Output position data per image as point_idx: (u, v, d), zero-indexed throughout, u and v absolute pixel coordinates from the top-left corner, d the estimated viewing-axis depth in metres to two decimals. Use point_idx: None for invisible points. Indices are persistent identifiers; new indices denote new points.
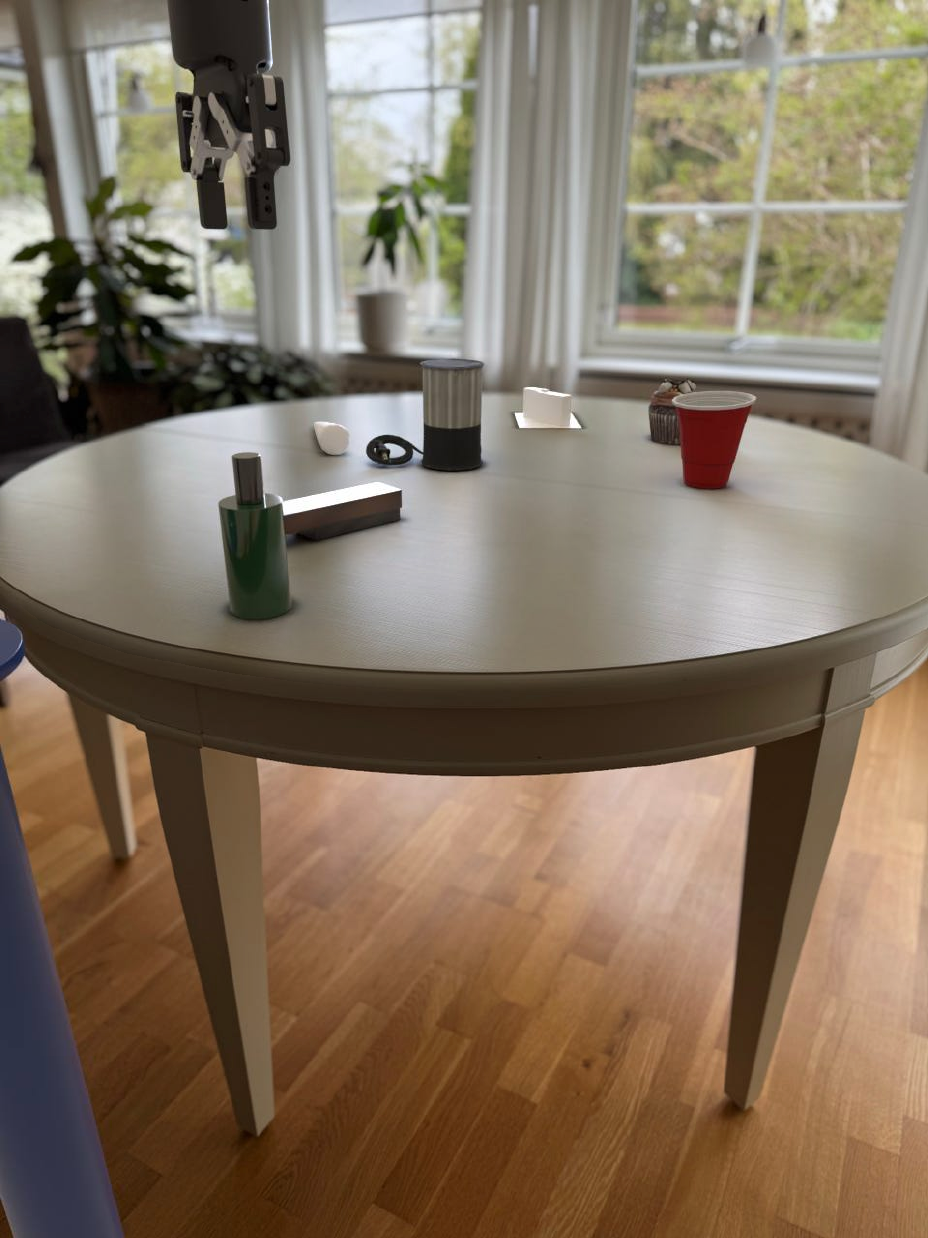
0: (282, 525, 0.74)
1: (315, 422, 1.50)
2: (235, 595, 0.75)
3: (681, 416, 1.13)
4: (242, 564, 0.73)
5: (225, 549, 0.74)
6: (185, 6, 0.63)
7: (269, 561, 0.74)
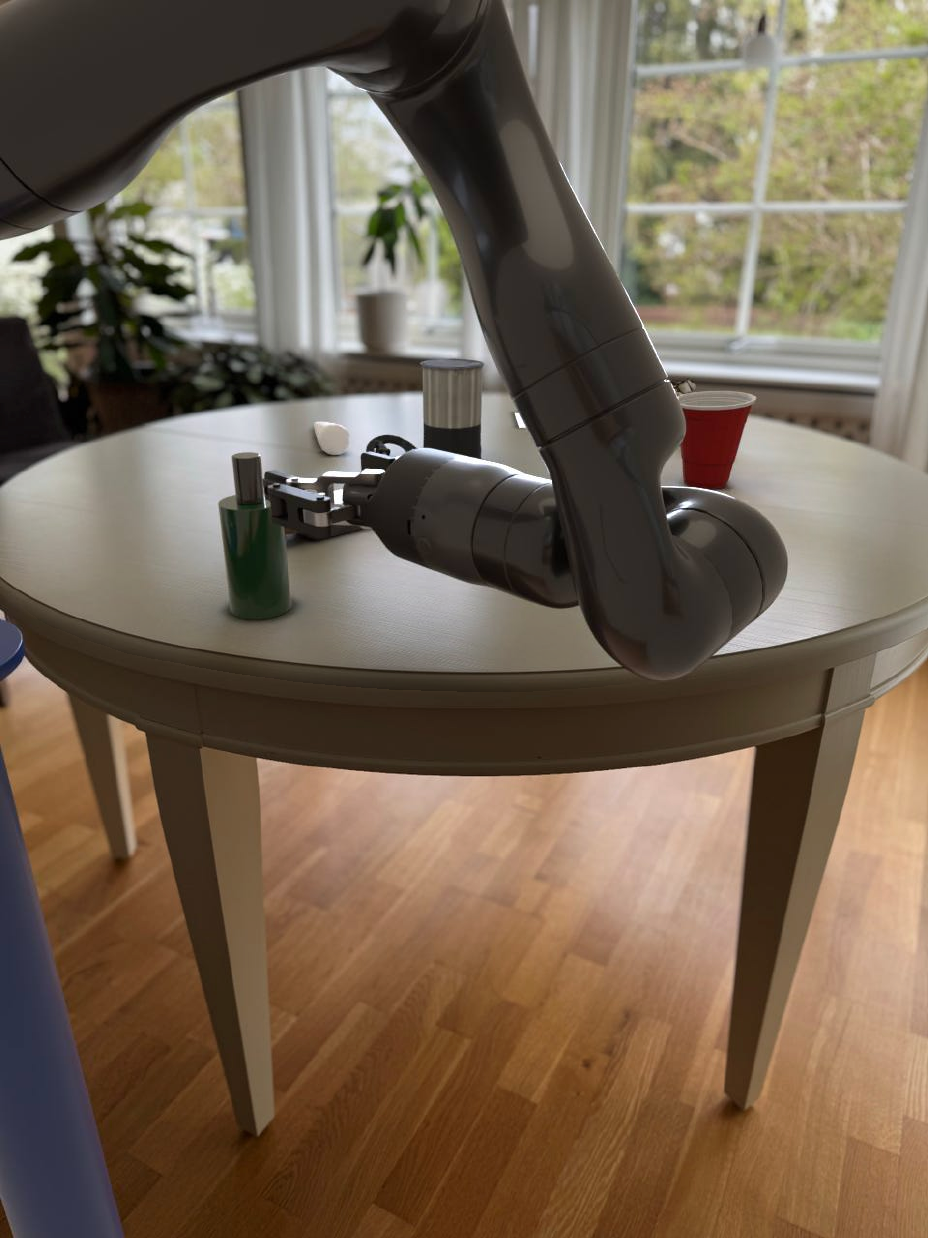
0: None
1: (315, 422, 1.50)
2: (235, 595, 0.75)
3: None
4: (242, 564, 0.73)
5: (225, 549, 0.74)
6: (428, 463, 0.52)
7: (269, 561, 0.74)
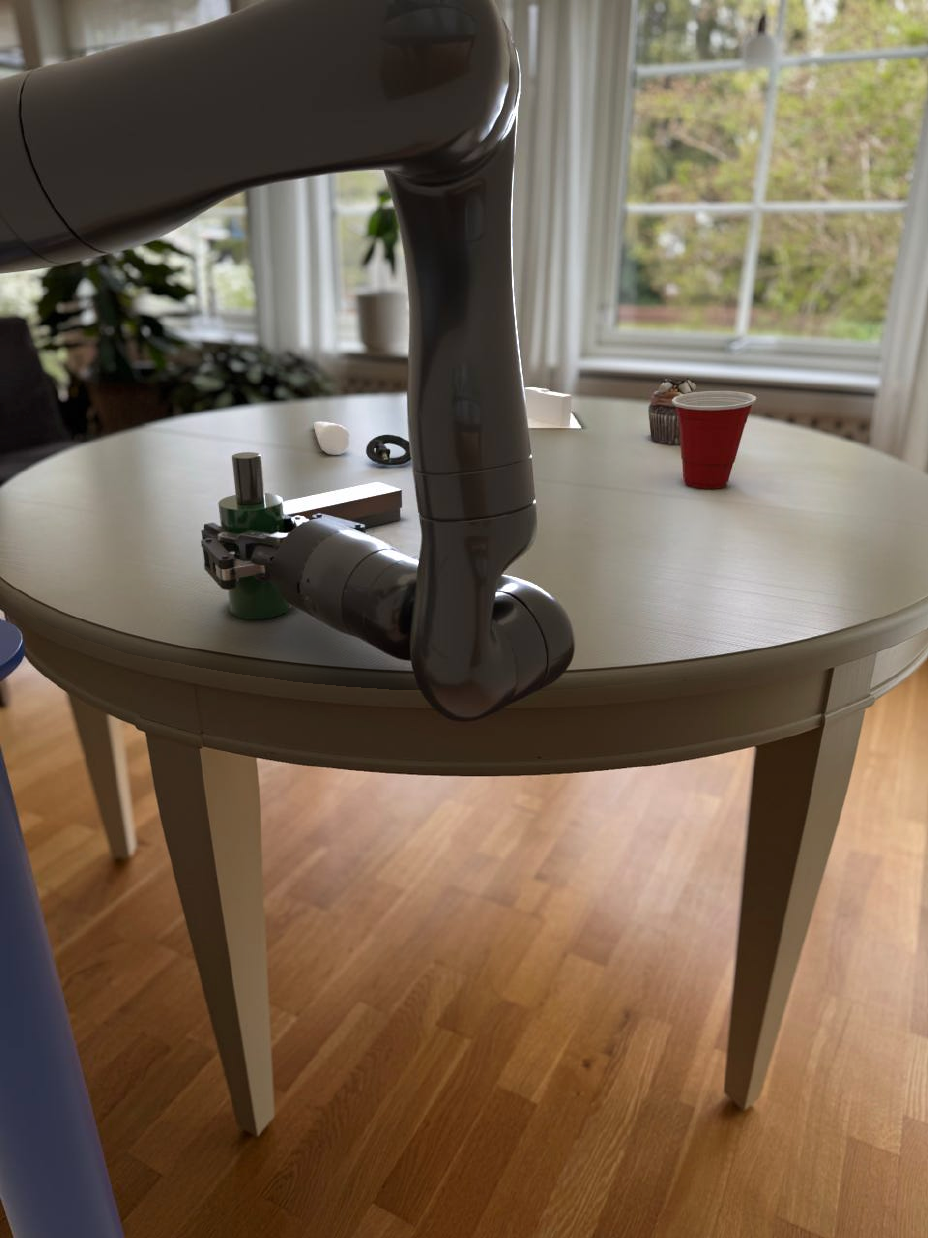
0: (282, 525, 0.74)
1: (315, 422, 1.50)
2: (235, 594, 0.75)
3: (681, 416, 1.13)
4: None
5: None
6: (316, 535, 0.64)
7: None
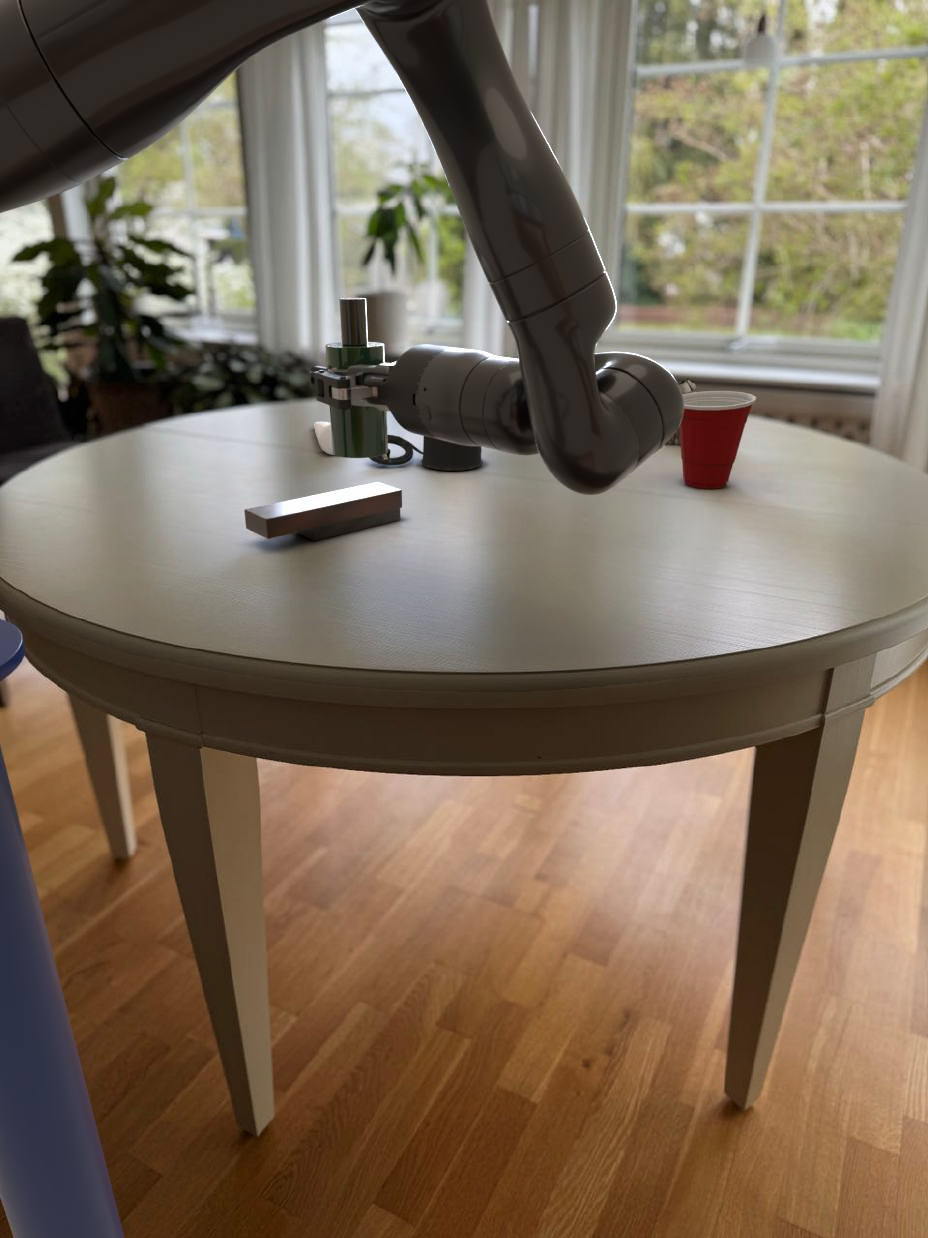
0: None
1: (315, 422, 1.50)
2: (339, 434, 0.80)
3: None
4: None
5: None
6: (429, 351, 0.69)
7: None
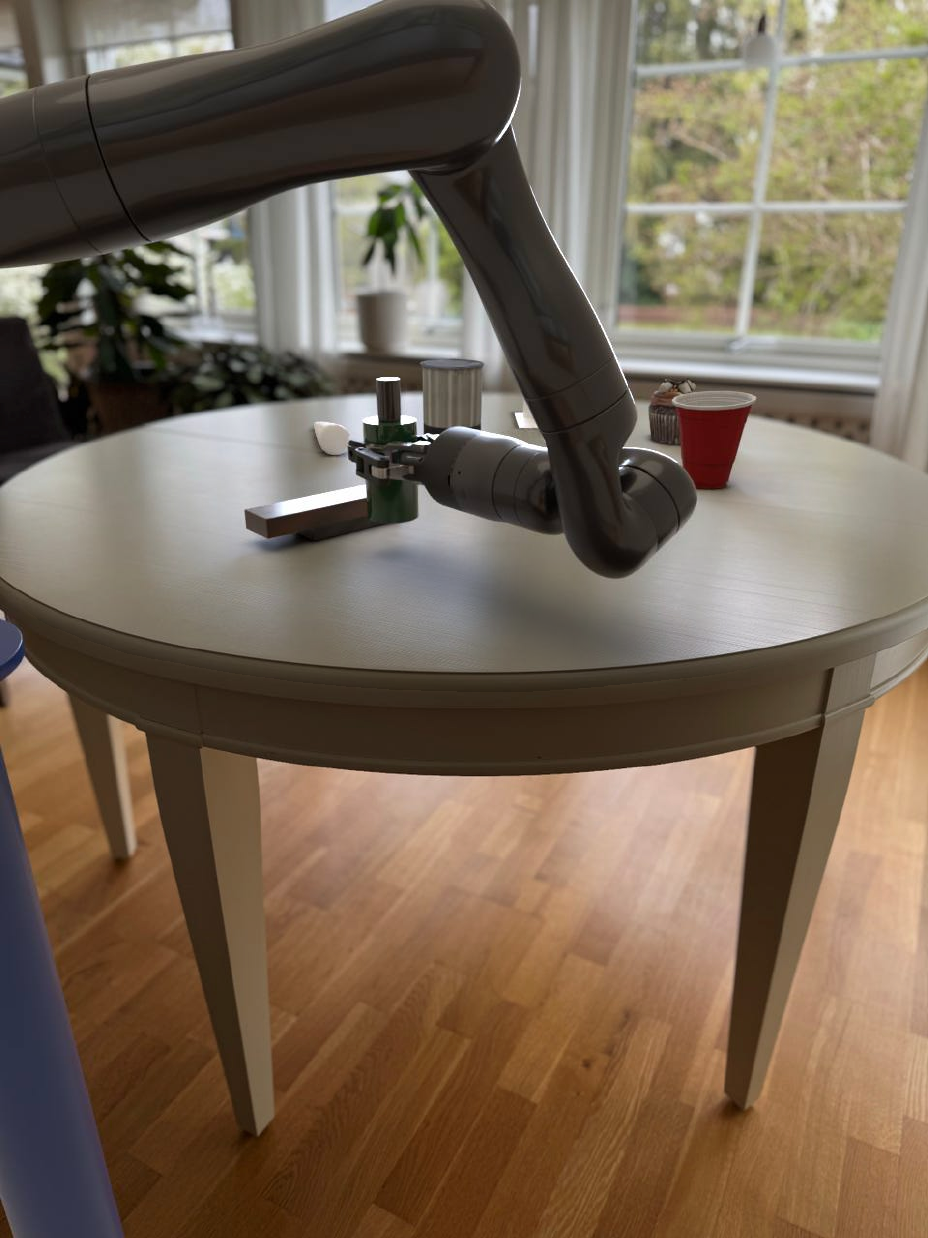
0: (416, 441, 0.86)
1: (315, 422, 1.50)
2: (375, 502, 0.87)
3: (681, 416, 1.13)
4: None
5: None
6: (462, 436, 0.76)
7: None
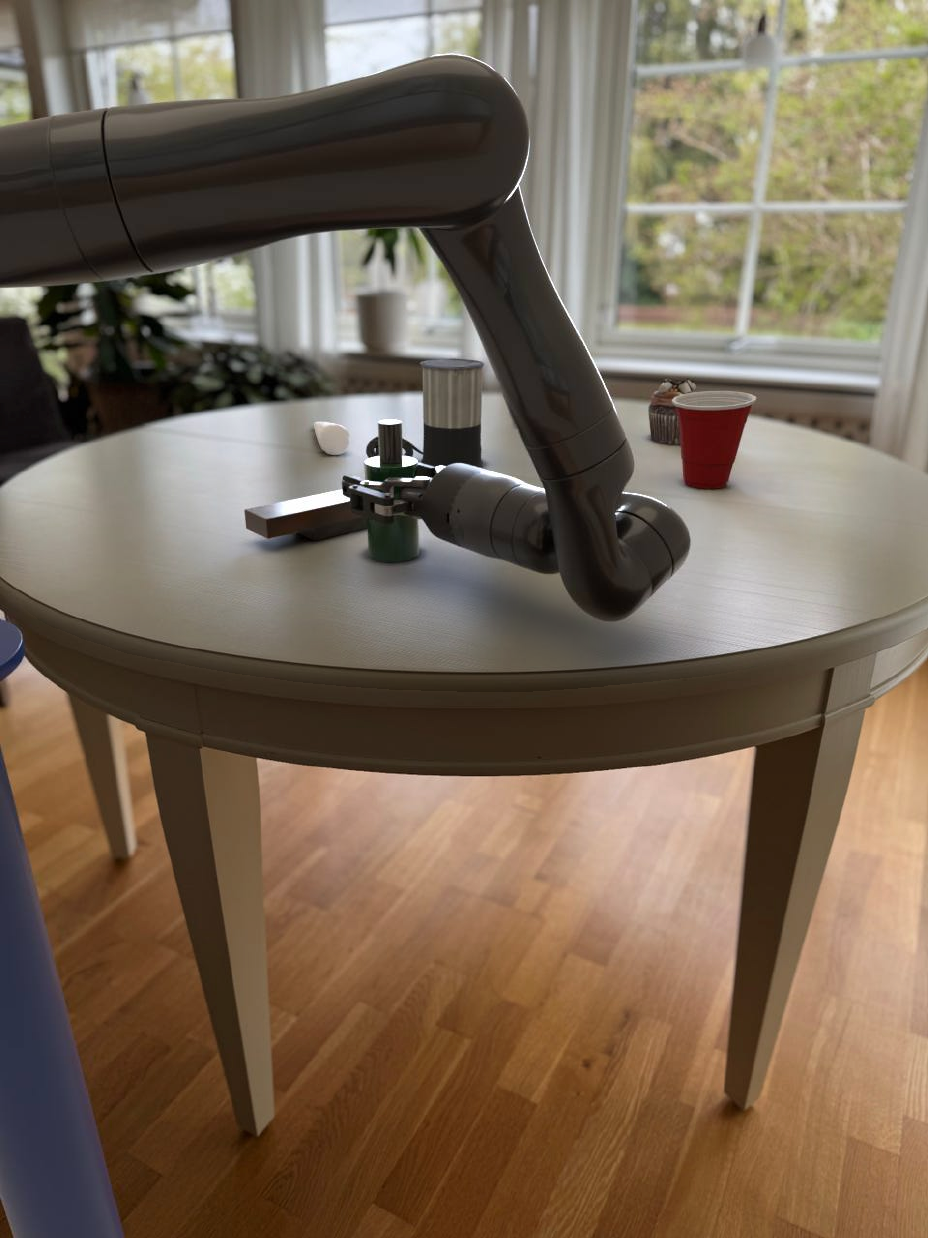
0: None
1: (315, 422, 1.50)
2: (376, 541, 0.89)
3: (681, 416, 1.13)
4: None
5: None
6: (462, 474, 0.77)
7: None
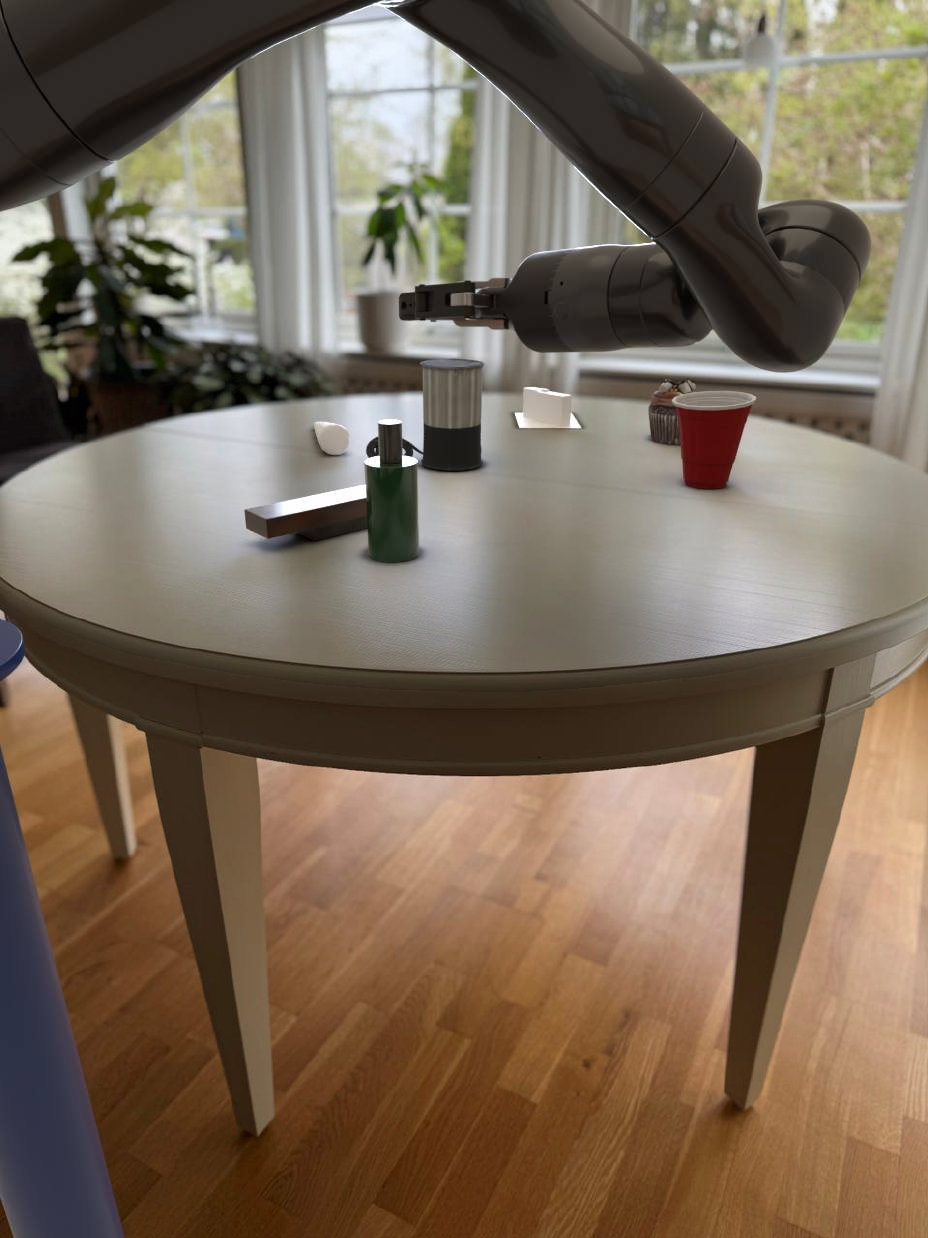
0: (417, 481, 0.88)
1: (315, 422, 1.50)
2: (376, 541, 0.89)
3: (681, 416, 1.13)
4: (384, 514, 0.87)
5: (369, 502, 0.87)
6: (559, 251, 0.64)
7: (407, 511, 0.87)
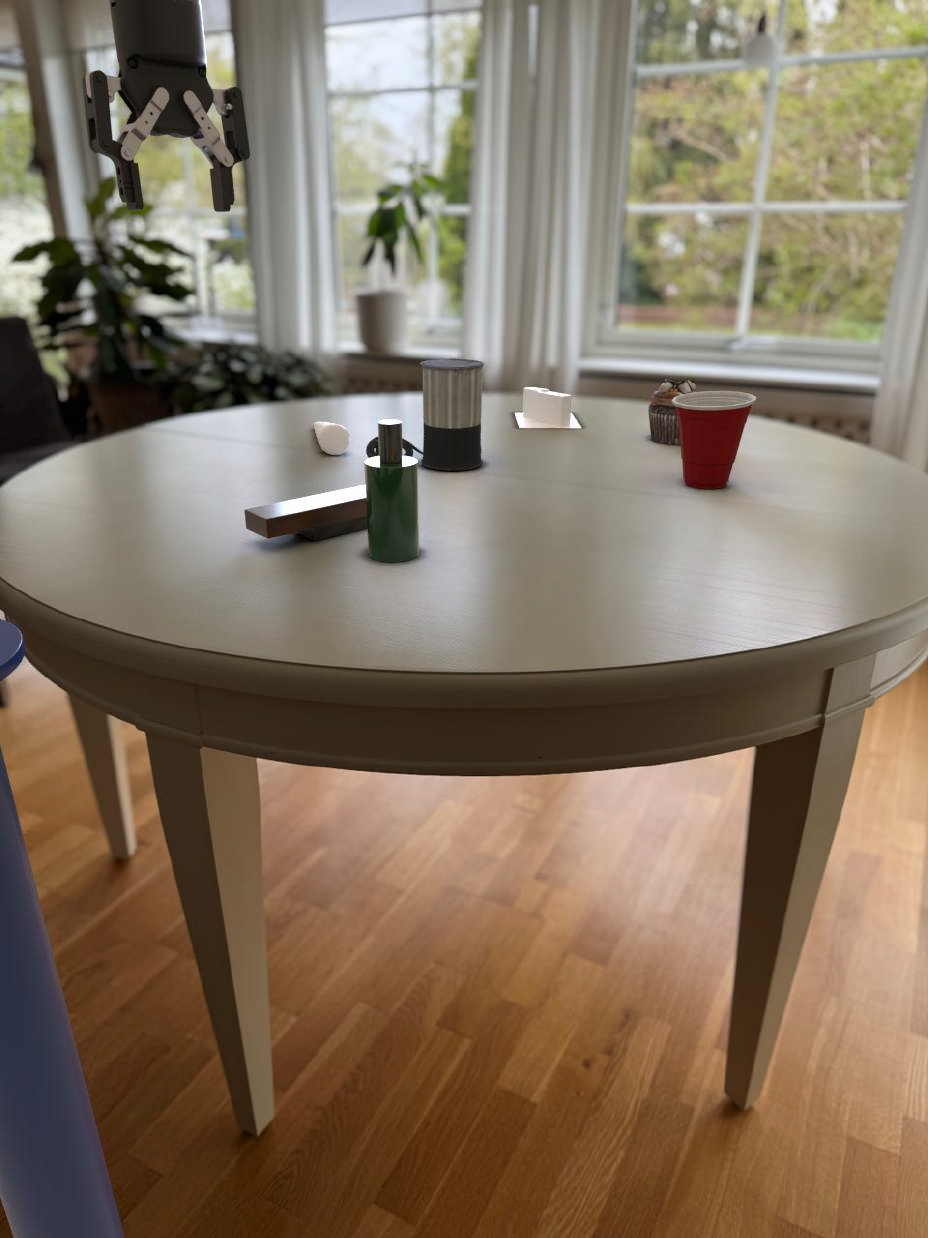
0: (417, 481, 0.88)
1: (315, 422, 1.50)
2: (376, 541, 0.89)
3: (681, 416, 1.13)
4: (384, 514, 0.87)
5: (369, 502, 0.87)
6: None
7: (407, 511, 0.87)
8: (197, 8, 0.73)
